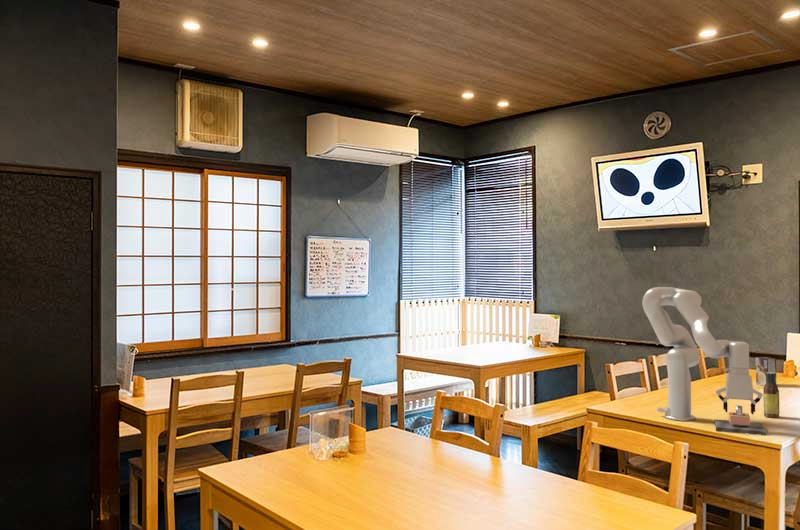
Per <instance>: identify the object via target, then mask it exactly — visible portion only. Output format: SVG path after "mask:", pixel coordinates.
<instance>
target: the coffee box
mask: <svg viewBox="0 0 800 530" xmlns="http://www.w3.org/2000/svg"><path fill="white" fill-rule="evenodd" d="M767 372H772V373H776V374H777V358H774V357H773V358H772V357H768V356H767V357H766V356H759V357H758V356H757V357H755V381H756V382H755V385H756V384H760V385H759V386H762V385H765V384H766V373H767ZM775 381H776V382H777V376H776V377H775Z"/></svg>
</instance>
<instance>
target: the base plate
mask: <svg viewBox="0 0 800 530" xmlns="http://www.w3.org/2000/svg"><path fill="white" fill-rule="evenodd" d="M714 426H715V427H716V428H715V427H714V428H715V431H716V432H722V431H724V433H733V434H735V433H736V434H745V433H748V434H747V435H756V434H761V435H760V436H767V431H766V429H765V426H764V424H763V423H762V422H751V421H750V425H747V427H737V426H733V425H731V424H730V422H729V419H728V420H725V419H714Z"/></svg>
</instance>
